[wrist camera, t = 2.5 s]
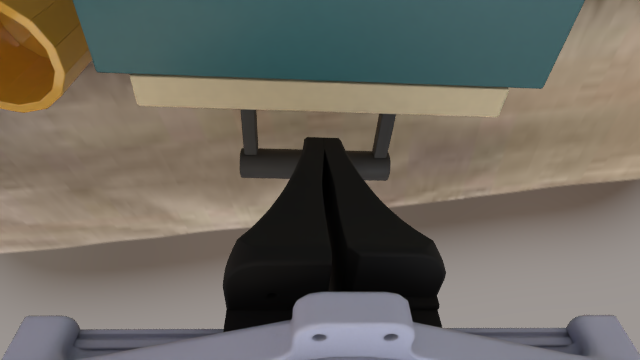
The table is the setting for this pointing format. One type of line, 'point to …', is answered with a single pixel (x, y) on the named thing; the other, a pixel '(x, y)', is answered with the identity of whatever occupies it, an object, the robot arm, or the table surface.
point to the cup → (39, 52)
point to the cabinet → (332, 39)
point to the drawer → (315, 110)
